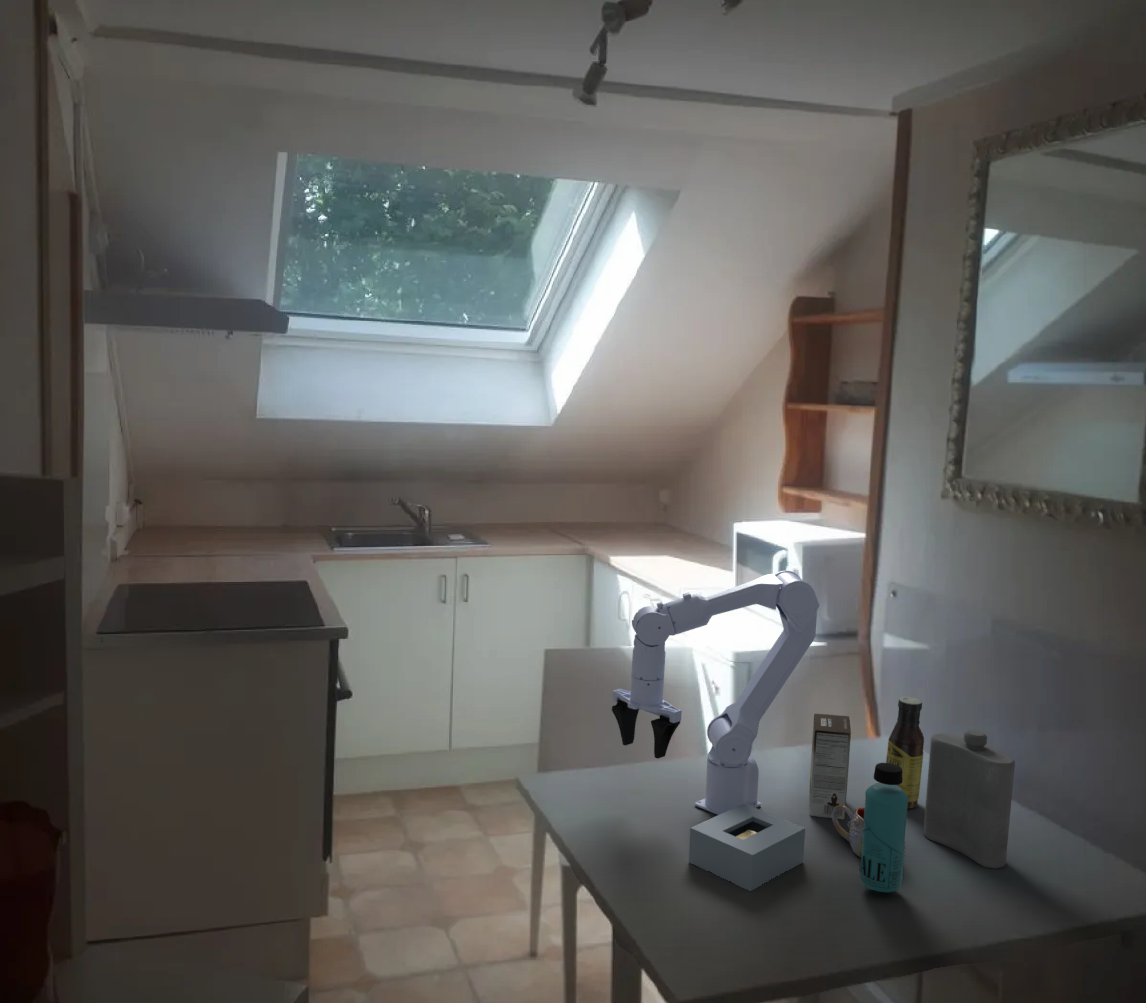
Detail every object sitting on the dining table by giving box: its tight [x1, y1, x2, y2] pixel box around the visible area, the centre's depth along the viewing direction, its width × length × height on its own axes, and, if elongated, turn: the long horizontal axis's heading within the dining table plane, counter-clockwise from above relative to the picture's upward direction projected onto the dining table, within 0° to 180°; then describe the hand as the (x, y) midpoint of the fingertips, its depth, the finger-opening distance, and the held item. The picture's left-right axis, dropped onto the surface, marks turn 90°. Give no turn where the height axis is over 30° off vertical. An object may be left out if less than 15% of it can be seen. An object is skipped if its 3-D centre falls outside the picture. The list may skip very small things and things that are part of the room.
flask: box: [923, 729, 1016, 870], centre depth 171 cm, size 15×6×20 cm, turn 31°
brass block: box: [736, 830, 757, 840], centre depth 165 cm, size 4×2×4 cm, turn 136°
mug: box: [831, 805, 865, 858], centre depth 172 cm, size 12×7×7 cm, turn 31°
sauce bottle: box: [885, 696, 925, 810], centre depth 188 cm, size 7×6×20 cm
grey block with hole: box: [688, 804, 806, 892], centre depth 165 cm, size 14×12×6 cm
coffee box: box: [808, 713, 852, 820], centre depth 186 cm, size 9×6×16 cm
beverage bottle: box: [858, 762, 908, 893], centre depth 156 cm, size 6×7×20 cm
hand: (643, 750), depth 184 cm, fingers open, 7 cm apart
